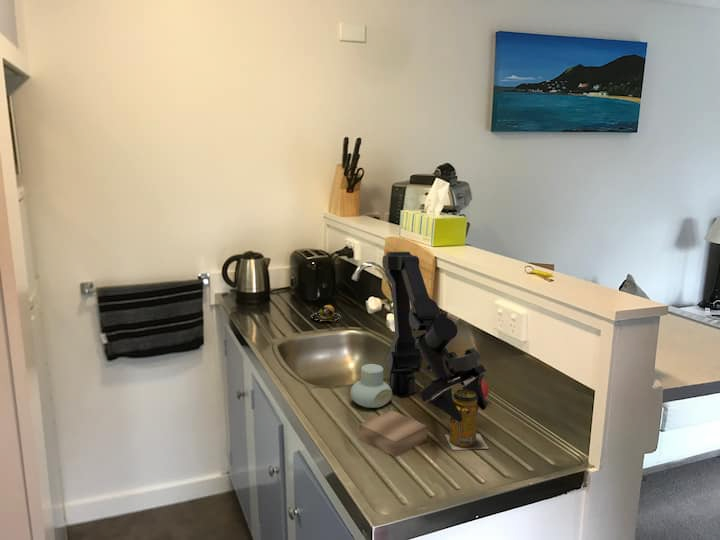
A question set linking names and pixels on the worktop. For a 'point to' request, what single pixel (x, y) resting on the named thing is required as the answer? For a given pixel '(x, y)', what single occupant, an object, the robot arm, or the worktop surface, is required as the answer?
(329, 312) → the burger
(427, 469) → the worktop surface
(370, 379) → the air freshener
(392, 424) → the pinkish brown square block
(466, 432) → the condiment
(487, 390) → the onion
